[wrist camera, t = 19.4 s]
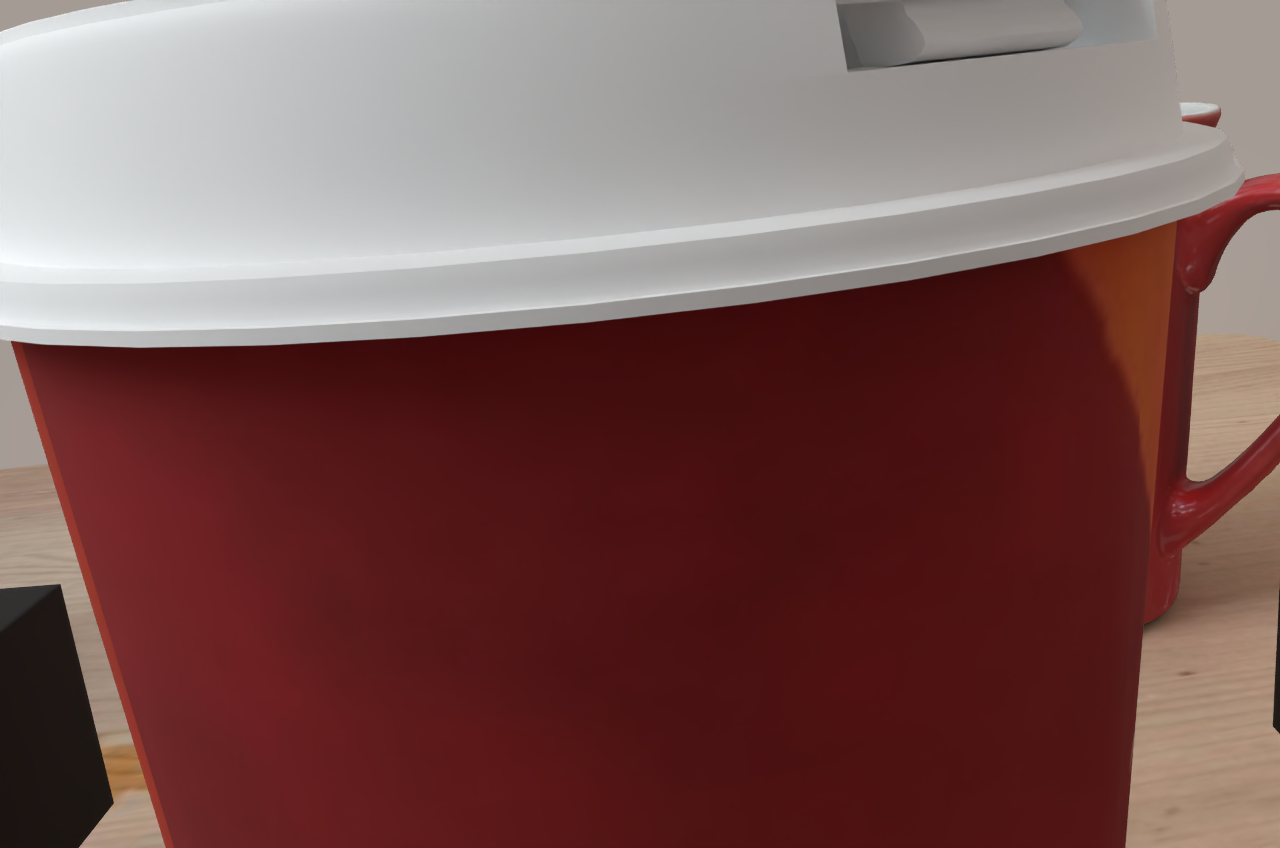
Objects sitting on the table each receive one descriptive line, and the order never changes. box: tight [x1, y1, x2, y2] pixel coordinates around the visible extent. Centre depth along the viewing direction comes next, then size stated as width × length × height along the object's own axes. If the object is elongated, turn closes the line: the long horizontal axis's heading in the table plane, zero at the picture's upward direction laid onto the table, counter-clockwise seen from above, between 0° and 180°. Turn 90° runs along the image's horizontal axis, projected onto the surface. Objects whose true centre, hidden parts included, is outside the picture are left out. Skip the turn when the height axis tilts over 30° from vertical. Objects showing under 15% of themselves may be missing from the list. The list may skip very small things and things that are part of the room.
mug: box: [1144, 102, 1280, 624], centre depth 33 cm, size 13×9×14 cm
